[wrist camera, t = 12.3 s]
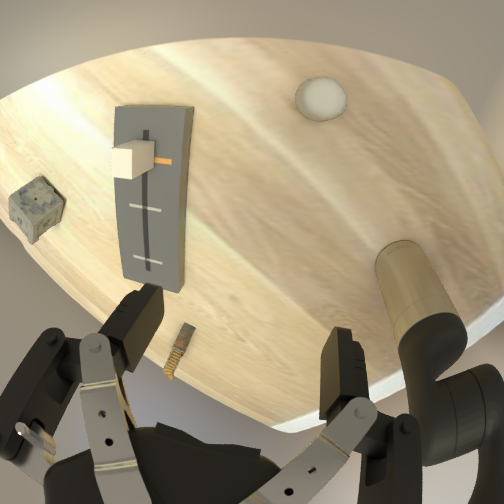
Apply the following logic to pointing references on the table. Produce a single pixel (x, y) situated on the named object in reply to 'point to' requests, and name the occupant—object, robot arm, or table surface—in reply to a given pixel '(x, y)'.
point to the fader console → (154, 195)
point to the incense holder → (35, 208)
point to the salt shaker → (321, 99)
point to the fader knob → (132, 158)
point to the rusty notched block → (178, 350)
